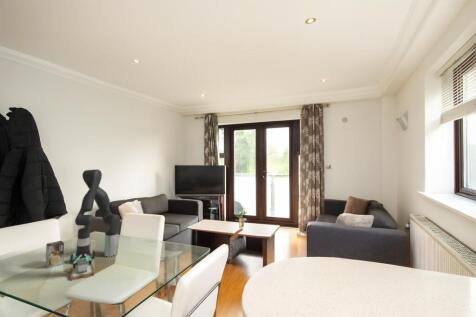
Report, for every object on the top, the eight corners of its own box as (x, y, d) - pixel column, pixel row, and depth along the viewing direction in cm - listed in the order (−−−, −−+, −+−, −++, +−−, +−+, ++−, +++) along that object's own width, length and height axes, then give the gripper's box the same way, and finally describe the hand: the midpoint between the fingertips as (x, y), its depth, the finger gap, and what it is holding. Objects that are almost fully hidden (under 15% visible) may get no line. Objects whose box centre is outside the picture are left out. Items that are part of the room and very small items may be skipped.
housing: (86, 266, 170) (86, 258, 170) (87, 272, 164) (87, 262, 163) (77, 268, 167) (78, 259, 167) (78, 274, 161) (78, 264, 160)
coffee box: (60, 261, 179) (61, 240, 179) (63, 264, 175) (64, 242, 175) (45, 265, 172) (46, 243, 171) (48, 268, 168) (49, 246, 167)
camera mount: (90, 261, 182) (91, 248, 182) (79, 265, 176) (80, 251, 175) (83, 256, 189) (84, 243, 188) (72, 260, 183) (73, 246, 182)
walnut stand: (91, 267, 174) (92, 264, 174) (93, 275, 164) (94, 272, 164) (70, 271, 167) (70, 268, 166) (70, 280, 156) (70, 277, 156)
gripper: (94, 239, 172) (93, 262, 172) (70, 243, 163) (69, 266, 164) (96, 243, 166) (94, 266, 166) (70, 247, 157) (69, 271, 158)
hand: (82, 266), depth 165 cm, fingers open, 8 cm apart
